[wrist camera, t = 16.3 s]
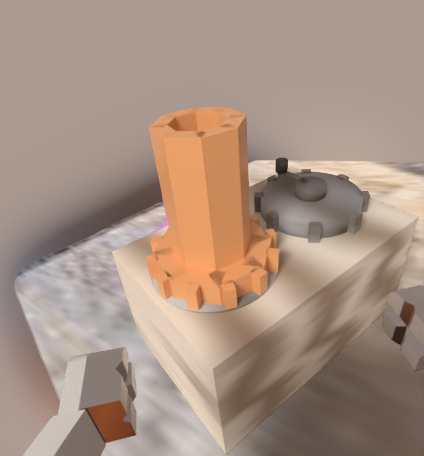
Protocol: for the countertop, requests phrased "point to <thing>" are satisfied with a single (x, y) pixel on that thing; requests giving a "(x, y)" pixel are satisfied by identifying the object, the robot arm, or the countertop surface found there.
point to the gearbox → (276, 300)
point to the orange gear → (207, 210)
